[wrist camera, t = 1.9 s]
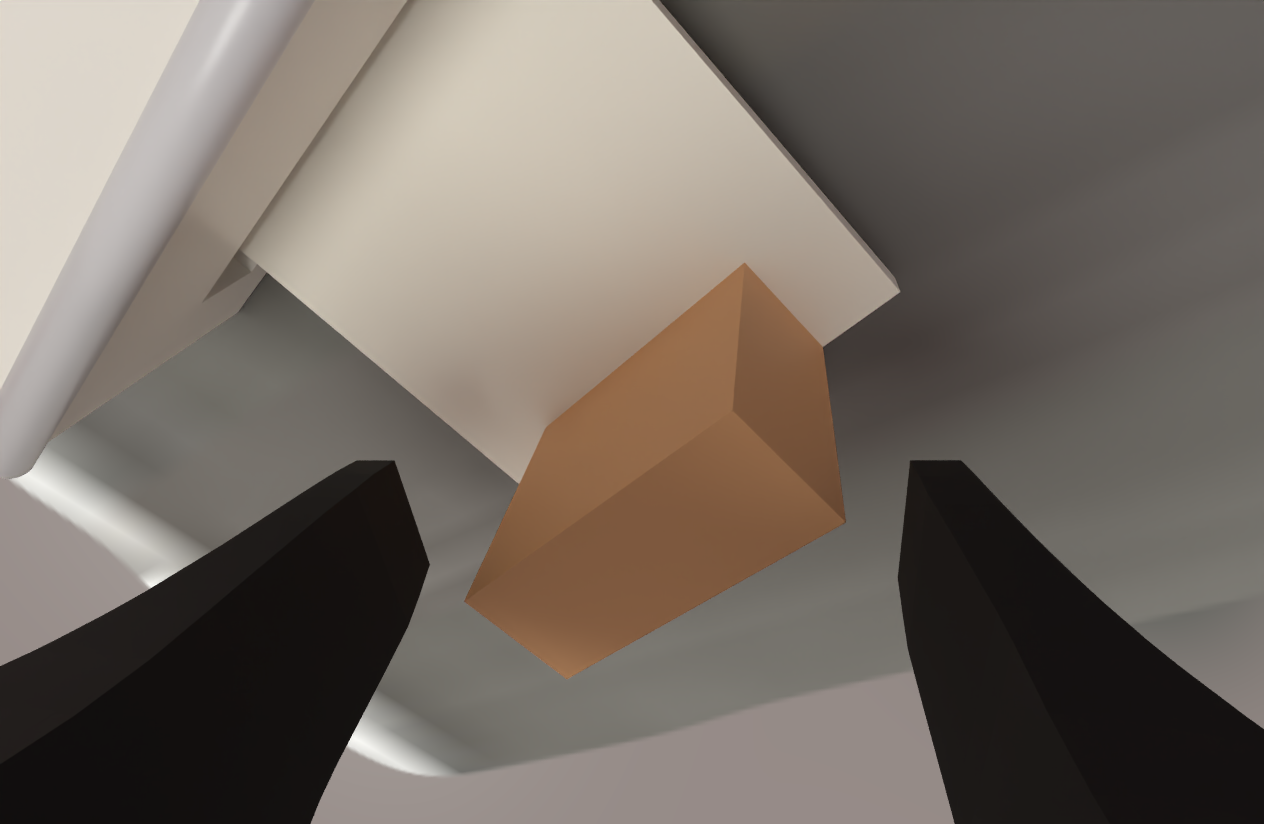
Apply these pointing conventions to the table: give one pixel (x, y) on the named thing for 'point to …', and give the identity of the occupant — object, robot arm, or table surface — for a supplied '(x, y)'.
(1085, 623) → the robot arm
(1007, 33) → the table surface
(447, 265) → the cream slab with block
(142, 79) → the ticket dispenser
